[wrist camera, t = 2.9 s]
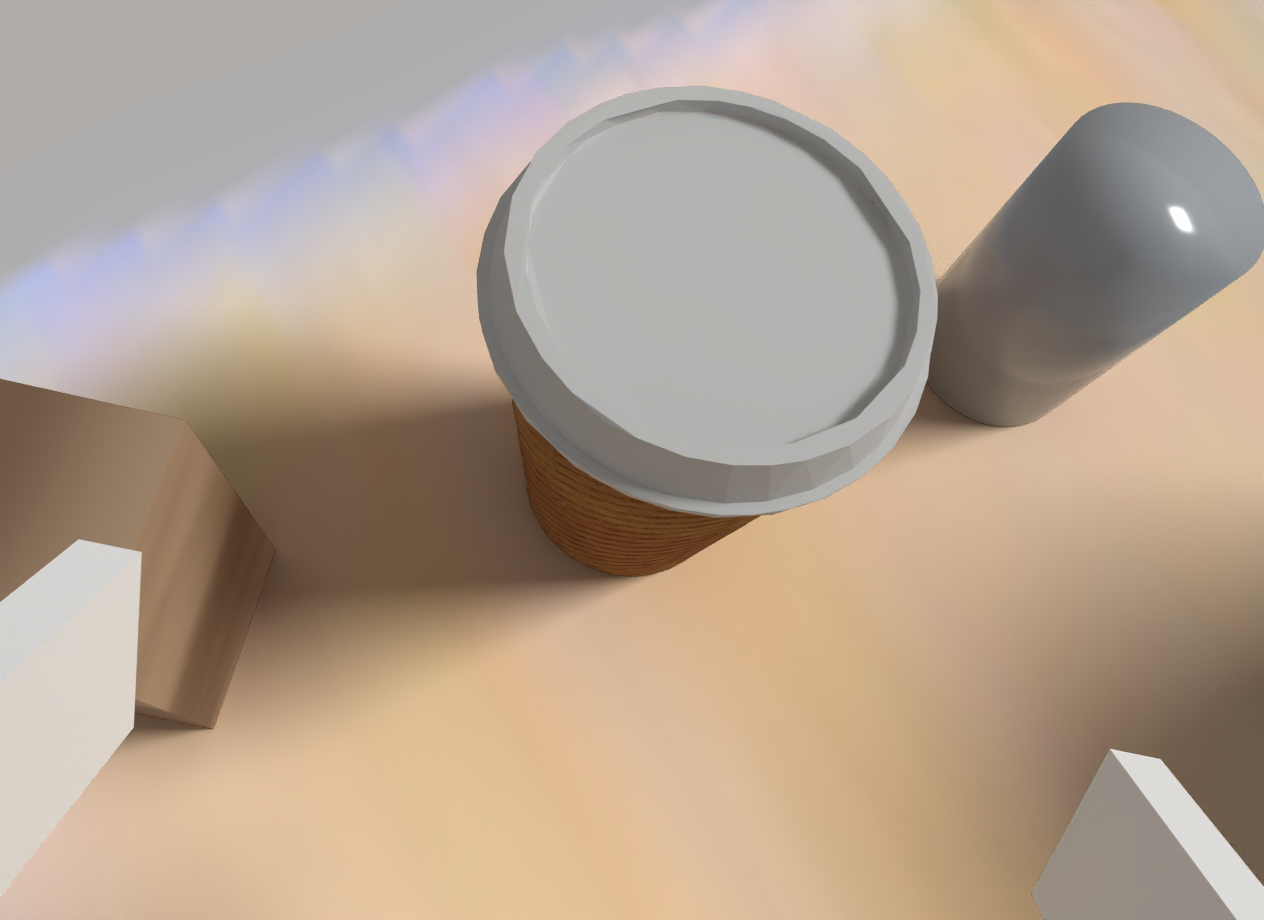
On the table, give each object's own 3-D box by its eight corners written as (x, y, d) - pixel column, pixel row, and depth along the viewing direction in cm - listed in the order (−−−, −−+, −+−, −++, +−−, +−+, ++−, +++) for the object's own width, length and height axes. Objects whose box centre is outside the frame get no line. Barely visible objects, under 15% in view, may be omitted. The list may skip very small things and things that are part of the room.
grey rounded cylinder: (1064, 301, 34) (1255, 133, 26) (1067, 443, 32) (1279, 309, 23) (913, 262, 33) (1059, 79, 25) (905, 405, 31) (1063, 253, 23)
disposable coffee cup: (406, 476, 27) (365, 238, 16) (617, 294, 31) (702, 0, 20) (637, 699, 26) (765, 605, 15) (830, 482, 29) (1045, 277, 18)
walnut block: (276, 550, 26) (184, 420, 17) (213, 729, 24) (79, 677, 15) (96, 512, 25) (-84, 360, 17) (17, 691, 23) (-229, 617, 15)
